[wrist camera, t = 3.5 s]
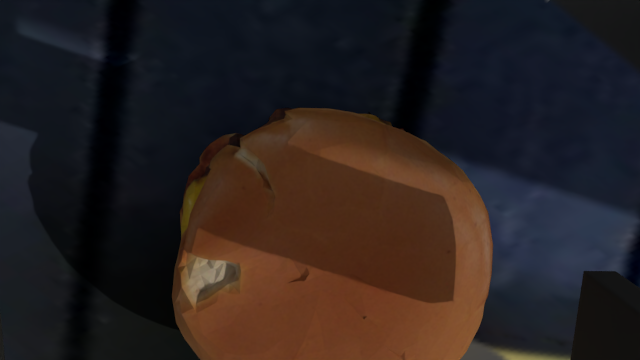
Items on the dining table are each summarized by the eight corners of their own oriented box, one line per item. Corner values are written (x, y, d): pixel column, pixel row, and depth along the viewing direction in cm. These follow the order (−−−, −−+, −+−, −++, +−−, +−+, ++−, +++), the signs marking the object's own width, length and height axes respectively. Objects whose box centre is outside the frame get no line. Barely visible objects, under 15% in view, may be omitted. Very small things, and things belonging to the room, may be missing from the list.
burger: (478, 343, 21) (531, 426, 17) (223, 394, 21) (206, 491, 17) (441, 68, 19) (490, 78, 14) (154, 124, 19) (112, 151, 14)
